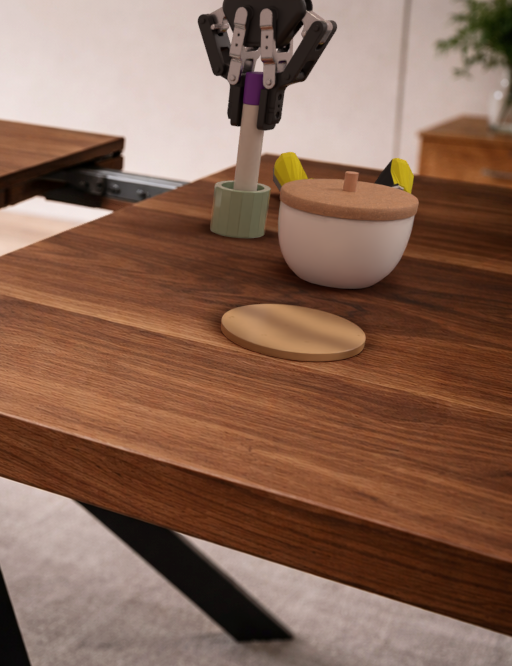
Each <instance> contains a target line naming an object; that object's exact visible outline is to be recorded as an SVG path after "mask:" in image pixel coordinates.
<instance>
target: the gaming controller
mask: <svg viewBox="0 0 512 666" xmlns="http://www.w3.org/2000/svg"><path fill="white" fill-rule="evenodd" d="M414 178H415V175H414V173H413V170H412V169H411V166H410V165H409V163H408V161H407V160H406V159H403V158H399V157H394V158H391V160H390V161H389V162H388V163H387V165H386V166H385V168H384V169H383V170H382V171H381V172H380V174H379V175H378V176H377V178H376V180H375V181H374V182H373V183H374V184H379V185H384V186H389V187H393V188H396V189H400V190H403V191H405V192H408V193H410V194H412V191H413V186H414V185H413V184H414ZM303 179H315V178H314V177H311V178H309V176H308V174H307V173H306V171H305V169H304V167H303V165H302V162H301V160H300V159H299V156H297V154H296V152H293V151H287V152H281V153H280V155H279V156H278V158H277V159H276V160H275V162H274V165H273V168H272V181H273V183H274V185H275V187H276V188H277V189H278V192H280V191H281V187H282V186H283V185H284V184H285V183H288V182H291V181H295V180H303Z"/></svg>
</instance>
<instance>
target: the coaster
mask: <svg viewBox="0 0 512 666" xmlns="http://www.w3.org/2000/svg"><path fill="white" fill-rule="evenodd" d="M220 330H221V333H222V334H223V335H224V336H225V337H226V339H228V340H229V341H231V342H232V343H234V344H236V345H237V346H240V347H242V348H244V349H247V350H249V351H252V352H255V353H258V354H261V355H265V356H268V357H274V358H279V359H284V360H290V361H300V362H333V361H341V360H346V359H350V358H352V357H355V356H357V355H358V354H360V353H361V352H362V351H363V350H364V348H365V345H366V338H367V336H366V334H365V332H364V331H363V329H362V328H361V327H360V326H358V325H357V324H356V323H354V322H352V321H350V320H348V319H346V318H344V317H342V316H340V315H336V314H334V313H330V312H328V311H324V310H321V309H317V308H311V307H306V306H299V305H292V304H282V303H260V304H259V303H258V304H257V303H256V304H255V303H254V304H248V305H241V306H238V307H233V308H231V309H230V310H228V311H226V312H224V314H223V315H222V317H221V320H220Z"/></svg>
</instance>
